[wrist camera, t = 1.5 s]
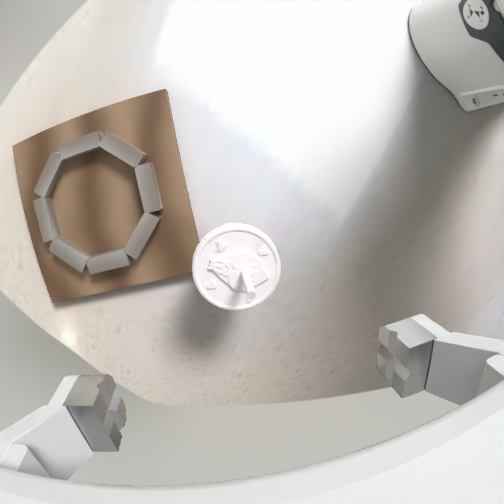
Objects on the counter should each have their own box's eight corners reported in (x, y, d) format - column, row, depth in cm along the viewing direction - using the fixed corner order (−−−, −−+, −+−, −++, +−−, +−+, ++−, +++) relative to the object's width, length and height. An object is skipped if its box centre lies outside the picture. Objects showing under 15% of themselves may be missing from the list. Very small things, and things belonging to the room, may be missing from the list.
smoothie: (252, 277, 33) (278, 349, 19) (191, 263, 32) (177, 330, 18) (269, 217, 32) (310, 253, 18) (206, 201, 30) (199, 226, 17)
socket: (167, 91, 27) (163, 84, 25) (205, 266, 32) (204, 274, 29) (18, 146, 26) (5, 145, 24) (57, 299, 31) (47, 308, 28)
